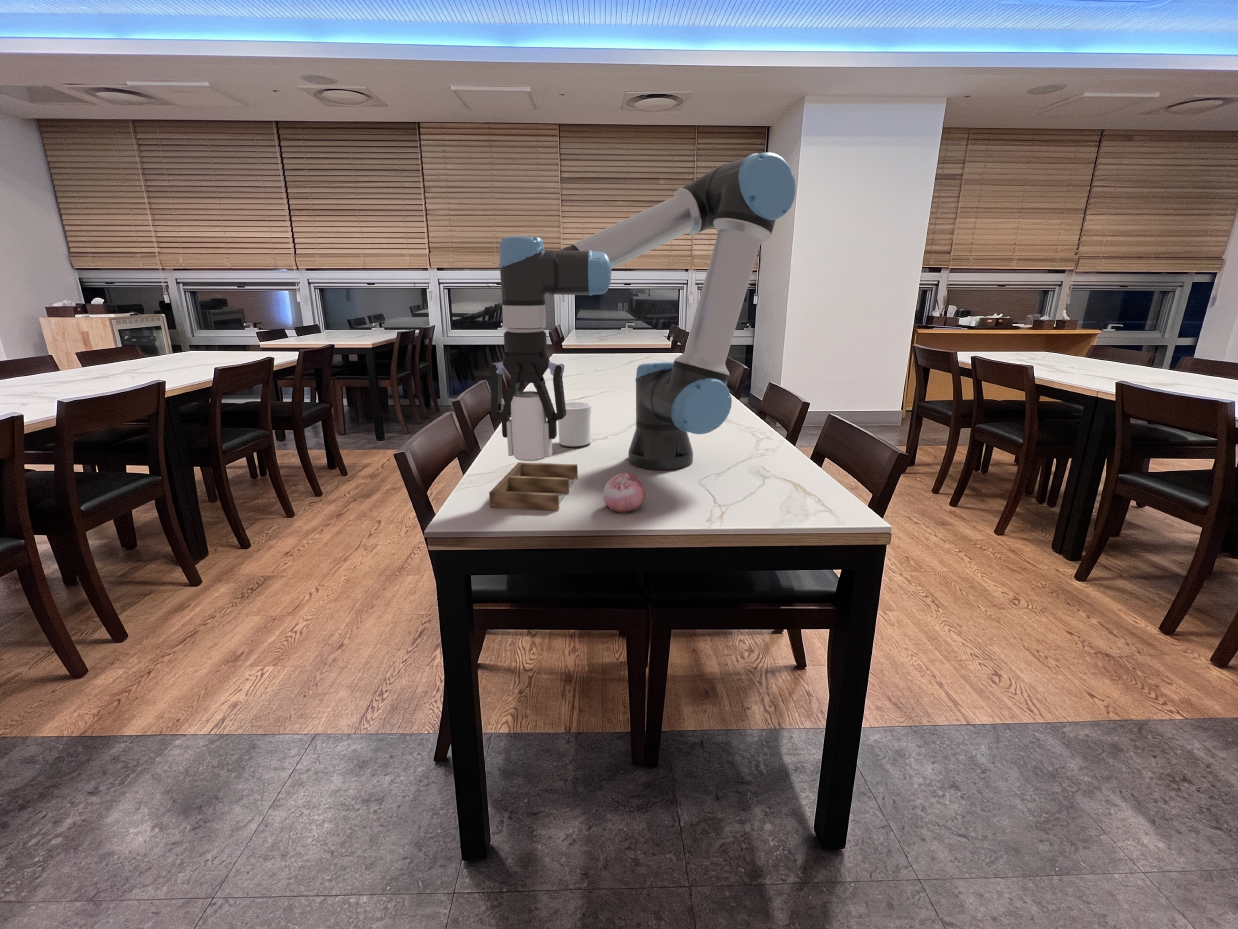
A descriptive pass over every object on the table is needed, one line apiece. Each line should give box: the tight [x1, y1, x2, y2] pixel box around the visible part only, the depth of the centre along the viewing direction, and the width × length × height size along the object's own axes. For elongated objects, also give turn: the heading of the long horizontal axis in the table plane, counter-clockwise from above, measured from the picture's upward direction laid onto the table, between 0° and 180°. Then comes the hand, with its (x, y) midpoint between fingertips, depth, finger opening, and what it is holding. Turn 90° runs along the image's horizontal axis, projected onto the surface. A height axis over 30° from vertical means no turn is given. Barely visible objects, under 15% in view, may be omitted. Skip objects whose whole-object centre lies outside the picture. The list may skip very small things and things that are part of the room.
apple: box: [602, 472, 647, 514], centre depth 108 cm, size 8×8×7 cm
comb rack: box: [488, 462, 579, 511], centre depth 118 cm, size 13×19×3 cm
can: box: [510, 390, 547, 462], centre depth 109 cm, size 6×6×12 cm
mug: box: [557, 401, 592, 449], centre depth 151 cm, size 11×9×10 cm
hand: (530, 454), depth 111 cm, fingers closed on can, 6 cm apart
